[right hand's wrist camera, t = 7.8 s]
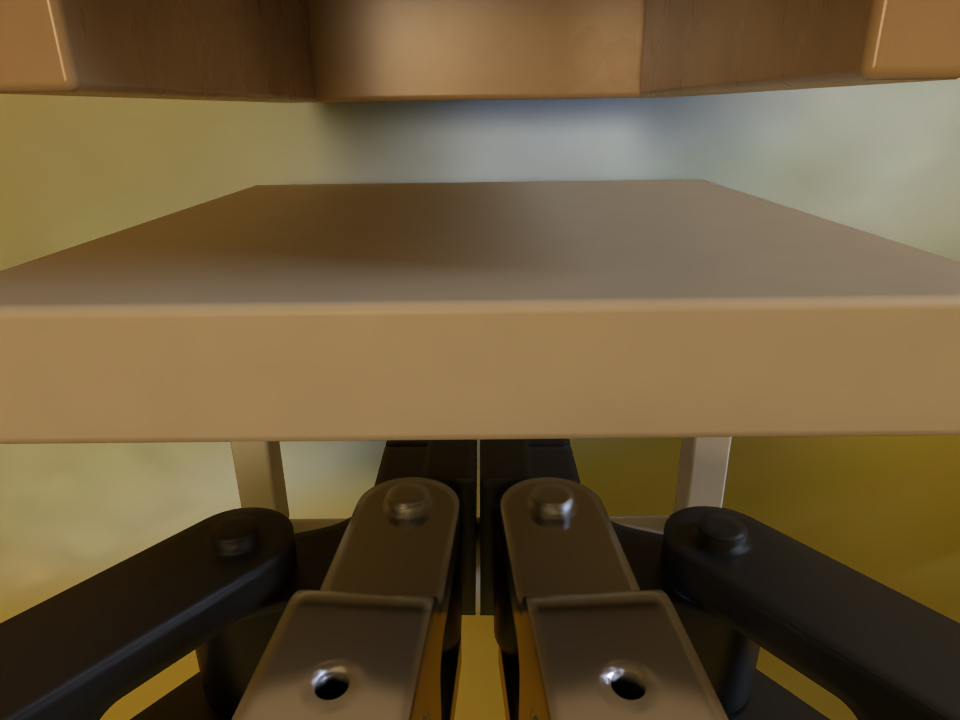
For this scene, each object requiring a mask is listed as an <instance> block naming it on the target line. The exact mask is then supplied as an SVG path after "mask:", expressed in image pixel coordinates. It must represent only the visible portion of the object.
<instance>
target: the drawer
mask: <svg viewBox="0 0 960 720" xmlns="http://www.w3.org/2000/svg"><path fill="white" fill-rule="evenodd" d="M959 77H960V0H0V94H29V95H60V96H92V97H123V98H154V99H185V100H217V101H248V102H280V103H304V102H374V101H445V100H516V99H586V98H657V97H682V96H698V95H713V94H729V93H745V92H761V91H777V90H792V89H808V88H824V87H840V86H856V85H871V84H887V83H903V82H919V81H935V80H950V79H957V78H959ZM901 435H960V262H957V261H954V260H951V259H948V258H945V257H942V256H938V255H935V254H932V253H929V252H926V251H923V250H920V249H917V248H914V247H910V246H907V245H904V244H901V243H898V242H895V241H892V240H889V239H886V238H883V237H879V236H876V235H873V234H870V233H867V232H864V231H861V230H858V229H855V228H851V227H848V226H845V225H842V224H839V223H836V222H833V221H830V220H827V219H824V218H820V217H817V216H814V215H811V214H808V213H805V212H802V211H799V210H796V209H793V208H789V207H786V206H783V205H780V204H777V203H774V202H771V201H768V200H765V199H761V198H758V197H755V196H752V195H749V194H746V193H743V192H740V191H737V190H734V189H730V188H727V187H724V186H721V185H718V184H715V183H712V182H709V181H706V180H625V181H548V182H471V183H393V184H316V185H256V186H253V187H250V188H247V189H244V190H241V191H238V192H235V193H232V194H229V195H226V196H223V197H220V198H217V199H214V200H211V201H208V202H205V203H202V204H199V205H196V206H193V207H190V208H187V209H184V210H181V211H178V212H175V213H172V214H169V215H166V216H164V217H161V218H158V219H155V220H152V221H149V222H146V223H143V224H140V225H137V226H134V227H131V228H128V229H125V230H122V231H119V232H116V233H113V234H110V235H107V236H104V237H101V238H98V239H95V240H92V241H89V242H86V243H83V244H80V245H77V246H74V247H71V248H68V249H65V250H62V251H59V252H56V253H53V254H50V255H47V256H44V257H41V258H38V259H35V260H32V261H29V262H26V263H23V264H20V265H18V266H15V267H12V268H9V269H6V270H3V271H0V444H30V443H138V442H231V447H232V453H233V459H234V465H235V471H236V477H237V483H238V489H239V495H240V501H241V507H242V508H249V507H260V508H268V509H272V510H275V511H278V512H280V513H282V514H284V515H285V516H286V517H288V518H289V509H288V502H287V495H286V487H285V480H284V473H283V466H282V458H281V451H280V444H279V441H356V440H465V439H574V438H682V443H681V453H680V462H679V471H678V480H677V489H676V498H675V507H674V513H675V512H677V511H679V510H681V509H685V508H688V507H695V506H713V507H720V508H722V502H723V495H724V488H725V481H726V474H727V466H728V459H729V452H730V445H731V438H732V437H792V436H901ZM608 517H609V519H610V520H611V521H613V522H615V523H618V524H620V525H623V526H627V527H631V528H635V529H639V530H644V531H649V532H654V533H659V534H663V532H664V525H665V523H666V520H667V519H668V518H669V517H670V516H608ZM289 520H290V521H291V523H292V525H293V529H294V534H295V533H300V532H305V531H310V530H315V529H320V528H324V527H328V526H331V525H334V524H337V523H340V522H342V521H344V520H346V519H289ZM476 613H480V517H476Z"/></svg>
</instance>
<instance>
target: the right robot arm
mask: <svg viewBox="0 0 960 720" xmlns="http://www.w3.org/2000/svg"><path fill="white" fill-rule="evenodd" d="M476 512H477V439H465V440H387V442H386V447H385V450H384V453H383V457H382V461H381V464H380V468H379V472H378V475H377V479H376V483H375V486H374V487H373V488H371V489H369V490H368V491H367V492H365V493H364V494H363V496H362V497H361V498H360V500H359V501H358V503H357V505H356V508H355V510H354V512H353V515H352V517H350V518H348V519H346V520H344V521H342V522H340V523H337V524H334V525H331V526H328V527H324V528H320V529H315V530H310V531H305V532H300V533H295V534H294V529H293V525H292V523H291V521H290V520H289V518H288V517H286V516H285V515H284V514H282V513H280V512H278V511H275V510H272V509H268V508H260V507H249V508H239V509H233V510H229V511H225V512H222V513H219V514H216V515H214V516H211V517H209V518H207V519H205V520H203V521H201V522H199V523H197V524H195V525H193V526H191V527H189V528H187V529H185V530H183V531H181V532H179V533H177V534H175V535H173V536H171V537H169V538H167V539H165V540H164V541H162V542H160V543H158V544H156V545H154V546H152V547H150V548H148V549H146V550H144V551H142V552H140V553H138V554H136V555H134V556H132V557H130V558H128V559H126V560H124V561H122V562H120V563H118V564H116V565H114V566H112V567H110V568H109V569H107V570H105V571H103V572H101V573H99V574H97V575H95V576H93V577H91V578H89V579H87V580H85V581H83V582H81V583H79V584H77V585H75V586H73V587H71V588H69V589H67V590H65V591H63V592H61V593H59V594H57V595H55V596H53V597H52V598H50V599H48V600H46V601H44V602H42V603H40V604H38V605H36V606H34V607H32V608H30V609H28V610H26V611H24V612H22V613H20V614H18V615H16V616H14V617H12V618H10V619H8V620H6V621H4V622H2V623H0V720H100V718H101V717H102V716H103V714H104V713H105V712H106V711H107V710H108V709H109V708H110V707H111V706H112V705H113V704H114V703H115V702H116V701H118V700H119V699H120V698H122V697H123V696H125V695H126V694H128V693H129V692H131V691H132V690H134V689H135V688H137V687H138V686H140V685H142V684H143V683H145V682H146V681H148V680H149V679H151V678H152V677H154V676H155V675H157V674H158V673H160V672H161V671H163V670H164V669H166V668H167V667H169V666H170V665H172V664H173V663H175V662H176V661H178V660H180V659H181V658H183V657H184V656H186V655H187V654H189V653H190V652H192V651H193V650H196V655H197V659H198V664H199V669H200V672H198V673H197V674H196V675H194V676H193V677H191V678H190V679H188V680H187V681H185V682H184V683H182V684H181V685H180V686H178V687H177V688H175V689H174V690H172V691H171V692H169V693H168V694H166V695H165V696H164V697H162V698H161V699H159V700H158V701H156V702H155V703H153V704H152V705H150V706H149V707H148V708H146V709H145V710H143V711H142V712H140V713H139V714H137V715H136V716H135V717H133V718H132V719H130V720H454V716H455V709H456V701H457V693H458V685H459V677H460V669H461V620H462V615H476ZM480 615H494V632H495V638H496V641H497V643H498V645H499V669H500V677H501V685H502V692H503V700H504V708H505V716H506V720H830V719H828V718H827V717H825V716H824V715H823V714H821V713H820V712H818V711H817V710H815V709H814V708H812V707H811V706H809V705H808V704H807V703H805V702H804V701H802V700H801V699H799V698H798V697H796V696H795V695H794V694H792V693H791V692H789V691H788V690H786V689H785V688H783V687H782V686H780V685H779V684H778V683H776V682H775V681H773V680H772V679H770V678H769V677H767V676H766V675H764V674H763V673H762V672H760V671H759V670H757V669H756V664H757V659H758V654H759V649H760V646H761V647H762V648H764V649H765V650H767V651H768V652H770V653H771V654H773V655H774V656H776V657H777V658H779V659H780V660H782V661H783V662H785V663H787V664H788V665H790V666H791V667H793V668H794V669H796V670H797V671H799V672H800V673H802V674H803V675H805V676H806V677H808V678H809V679H811V680H812V681H814V682H815V683H817V684H818V685H820V686H821V687H823V688H825V689H826V690H828V691H829V692H831V693H832V694H834V695H835V696H836V697H838V698H839V699H840V700H842V701H843V702H844V703H845V704H846V705H847V706H848V707H849V708H850V709H851V710H852V712H853V713H854V714H855V716H856V717H857V719H858V720H960V623H958V622H956V621H954V620H952V619H950V618H948V617H946V616H944V615H942V614H940V613H938V612H936V611H934V610H932V609H930V608H928V607H926V606H924V605H922V604H920V603H918V602H916V601H914V600H912V599H910V598H908V597H906V596H905V595H903V594H901V593H899V592H897V591H895V590H893V589H891V588H889V587H887V586H885V585H883V584H881V583H879V582H877V581H875V580H873V579H871V578H869V577H867V576H865V575H863V574H861V573H859V572H857V571H855V570H853V569H851V568H850V567H848V566H846V565H844V564H842V563H840V562H838V561H836V560H834V559H832V558H830V557H828V556H826V555H824V554H822V553H820V552H818V551H816V550H814V549H812V548H810V547H808V546H806V545H804V544H802V543H800V542H798V541H796V540H794V539H793V538H791V537H789V536H787V535H785V534H783V533H781V532H779V531H777V530H775V529H773V528H771V527H769V526H767V525H765V524H763V523H761V522H759V521H757V520H755V519H753V518H751V517H749V516H747V515H745V514H742V513H739V512H736V511H734V510H730V509H726V508H720V507H713V506H695V507H688V508H685V509H681V510H679V511H677V512H675V513H673V514H672V515H671V516H670V517H669V518H668V519H667V520H666V523H665V525H664V532H663V534H659V533H654V532H649V531H644V530H639V529H635V528H631V527H627V526H623V525H620V524H618V523H615V522H613V521H611V520H610V519H609V517H608V515H607V512H606V510H605V508H604V505H603V503H602V501H601V499H600V498H599V497H598V496H597V494H596V493H595V492H593V491H592V490H591V489H589V488H588V487H586V486H584V485H582V484H580V480H579V476H578V472H577V468H576V464H575V461H574V457H573V453H572V449H571V447H570V441H569V439H480Z"/></svg>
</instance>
